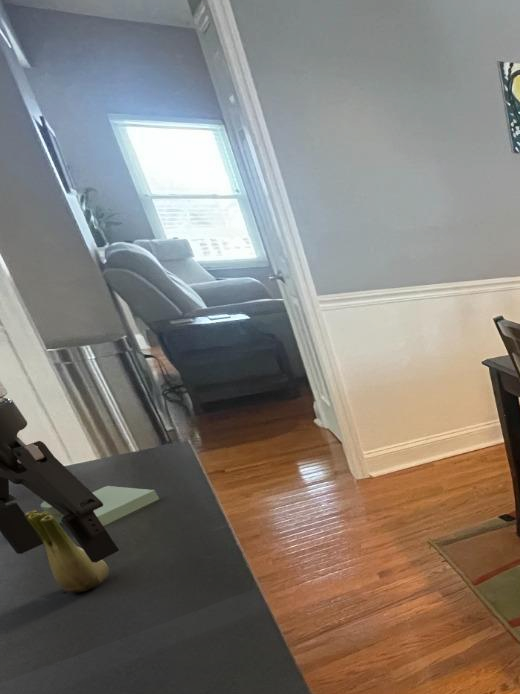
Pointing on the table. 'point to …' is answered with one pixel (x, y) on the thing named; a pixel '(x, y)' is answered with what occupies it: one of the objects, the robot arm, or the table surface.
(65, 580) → the fennel bulb
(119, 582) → the table surface
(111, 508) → the scale
